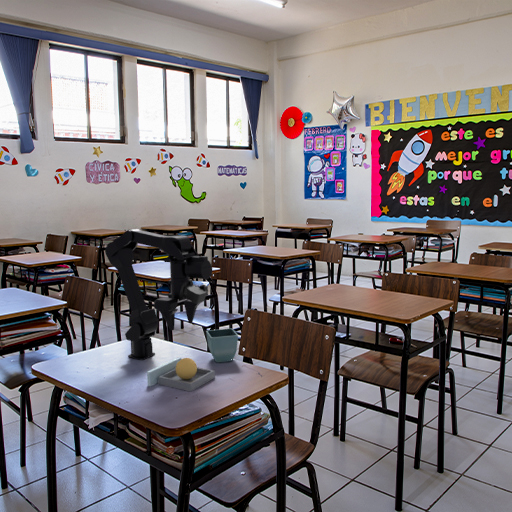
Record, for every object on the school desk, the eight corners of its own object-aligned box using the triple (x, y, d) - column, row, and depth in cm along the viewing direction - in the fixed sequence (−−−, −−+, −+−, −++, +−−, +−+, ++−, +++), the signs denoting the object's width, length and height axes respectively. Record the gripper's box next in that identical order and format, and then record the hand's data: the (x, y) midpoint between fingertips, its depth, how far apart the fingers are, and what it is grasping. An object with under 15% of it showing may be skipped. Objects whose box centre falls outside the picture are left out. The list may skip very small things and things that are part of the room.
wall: (147, 385, 137) (147, 371, 137) (179, 370, 149) (178, 357, 149) (150, 386, 137) (149, 372, 136) (181, 370, 149) (181, 357, 148)
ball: (171, 380, 139) (170, 360, 138) (184, 373, 144) (183, 353, 144) (188, 384, 136) (188, 363, 136) (201, 376, 142) (200, 356, 141)
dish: (158, 384, 138) (157, 376, 138) (183, 371, 148) (183, 364, 148) (191, 391, 133) (190, 383, 132) (214, 377, 143) (214, 370, 142)
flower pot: (211, 365, 153) (210, 337, 152) (206, 357, 161) (205, 330, 160) (239, 362, 155) (238, 335, 154) (232, 354, 164) (232, 328, 163)
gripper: (182, 283, 140) (183, 337, 141) (218, 274, 156) (219, 322, 158) (151, 281, 145) (153, 332, 147) (190, 272, 161) (191, 319, 163)
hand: (181, 326), depth 153 cm, fingers open, 9 cm apart
